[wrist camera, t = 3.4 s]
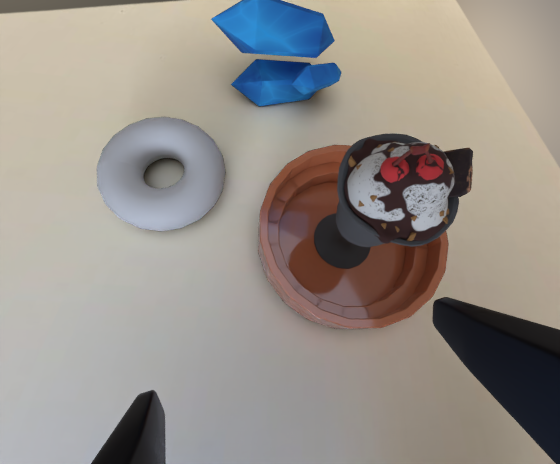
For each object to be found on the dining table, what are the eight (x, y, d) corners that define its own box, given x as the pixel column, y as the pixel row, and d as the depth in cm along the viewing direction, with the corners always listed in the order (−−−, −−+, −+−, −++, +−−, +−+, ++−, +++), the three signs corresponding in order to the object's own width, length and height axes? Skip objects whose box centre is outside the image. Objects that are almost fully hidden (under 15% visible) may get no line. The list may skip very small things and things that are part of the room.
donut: (241, 215, 26) (208, 121, 28) (241, 199, 23) (203, 95, 25) (122, 253, 24) (96, 148, 26) (102, 241, 21) (75, 123, 23)
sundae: (290, 257, 24) (349, 155, 10) (322, 192, 27) (406, 35, 13) (363, 294, 24) (528, 240, 10) (389, 225, 26) (554, 100, 12)
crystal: (374, 56, 24) (225, 32, 19) (325, 127, 32) (210, 121, 27) (349, -9, 26) (210, -44, 22) (309, 72, 34) (200, 58, 29)
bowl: (450, 261, 26) (484, 249, 23) (330, 368, 23) (346, 375, 19) (348, 145, 29) (363, 117, 25) (225, 222, 25) (221, 203, 22)
